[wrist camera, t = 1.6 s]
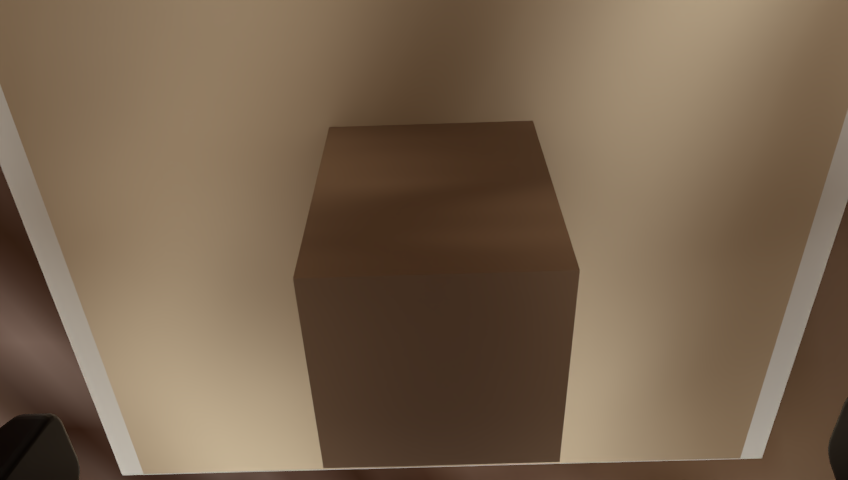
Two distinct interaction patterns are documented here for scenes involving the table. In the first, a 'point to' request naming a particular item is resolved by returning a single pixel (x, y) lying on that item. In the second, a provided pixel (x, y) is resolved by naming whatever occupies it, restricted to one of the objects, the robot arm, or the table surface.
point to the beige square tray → (429, 218)
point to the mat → (7, 150)
